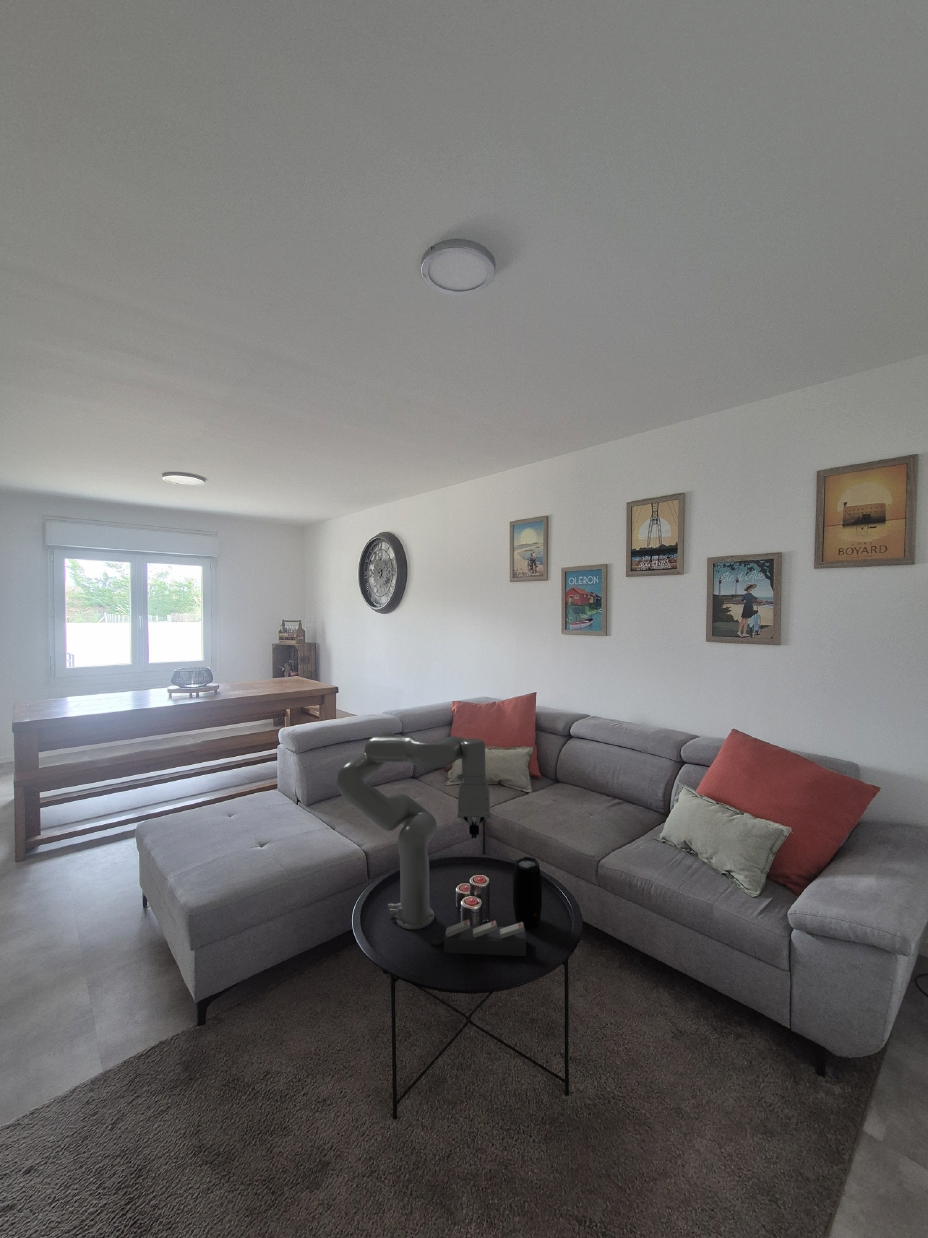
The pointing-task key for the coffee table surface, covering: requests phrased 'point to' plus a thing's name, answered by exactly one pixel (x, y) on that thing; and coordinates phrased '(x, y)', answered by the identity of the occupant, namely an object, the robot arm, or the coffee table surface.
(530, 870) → the portable speaker
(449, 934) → the rocker
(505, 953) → the rocker switch box
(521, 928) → the rocker
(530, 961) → the coffee table surface
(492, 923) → the rocker
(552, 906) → the coffee table surface
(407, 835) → the robot arm
